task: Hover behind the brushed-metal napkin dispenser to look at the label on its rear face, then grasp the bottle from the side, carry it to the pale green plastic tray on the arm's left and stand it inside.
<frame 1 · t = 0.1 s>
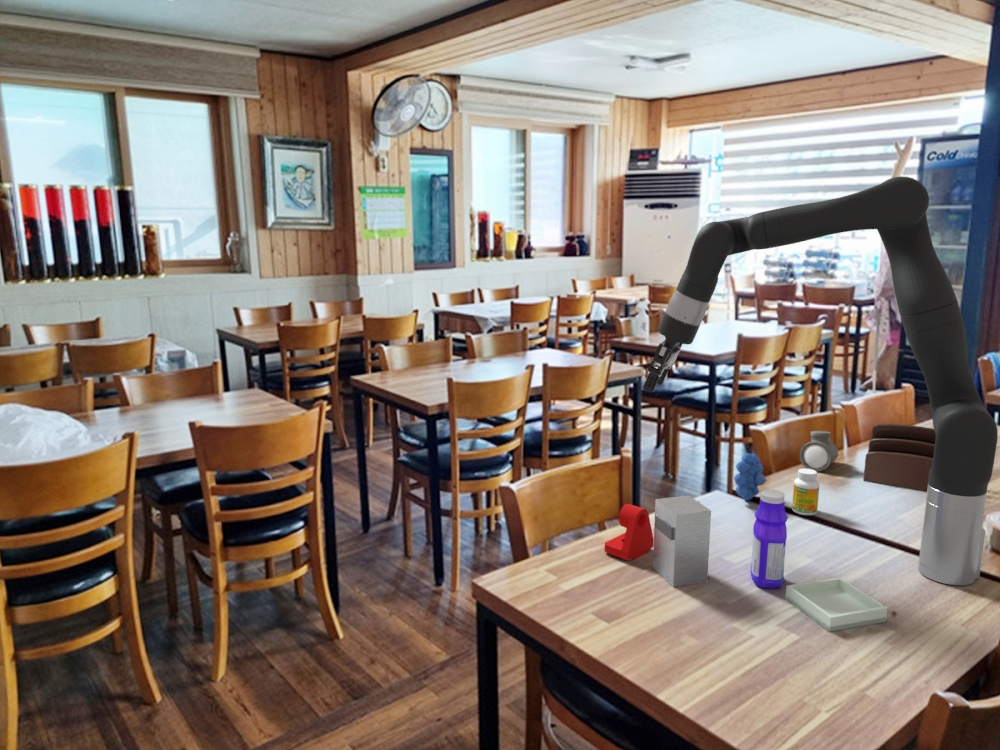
hand: (652, 386, 155), 31 cm above the table, fingers open, 8 cm apart
supplement bottle: (804, 512, 169), on the table
dispenser: (679, 574, 139), on the table
bracket: (627, 552, 149), on the table
letter holder: (908, 483, 188), on the table
tray: (834, 609, 126), on the table
pipe fitting: (820, 467, 201), on the table
grapes: (750, 501, 176), on the table
bottle: (766, 582, 136), on the table
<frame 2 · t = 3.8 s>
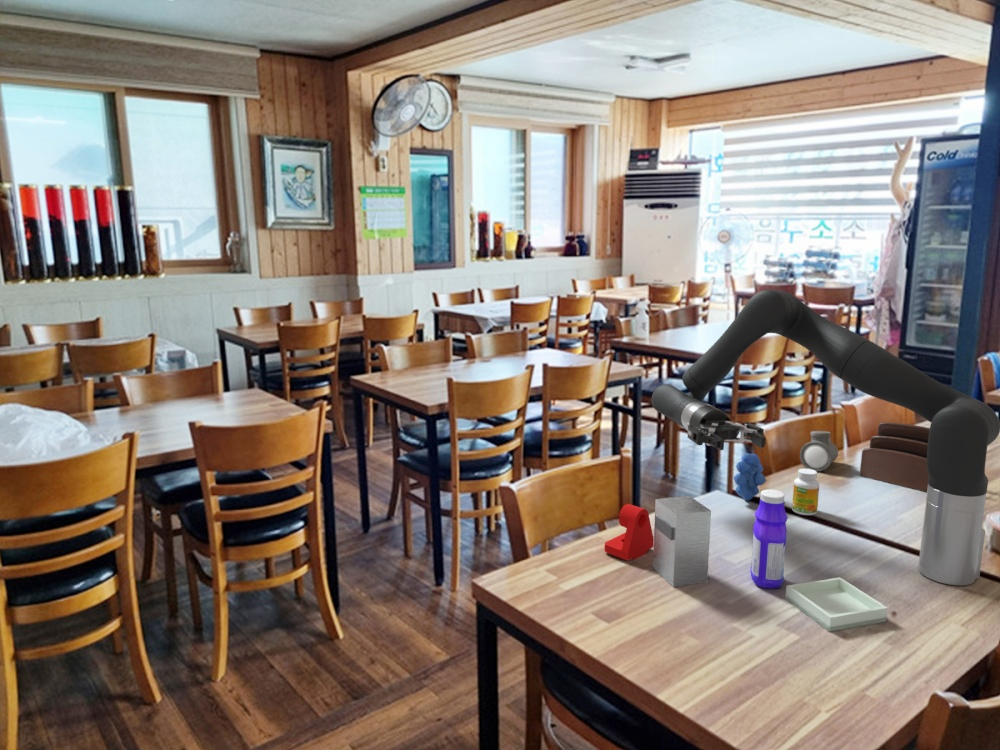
hand: (742, 444, 142), 23 cm above the table, fingers open, 8 cm apart
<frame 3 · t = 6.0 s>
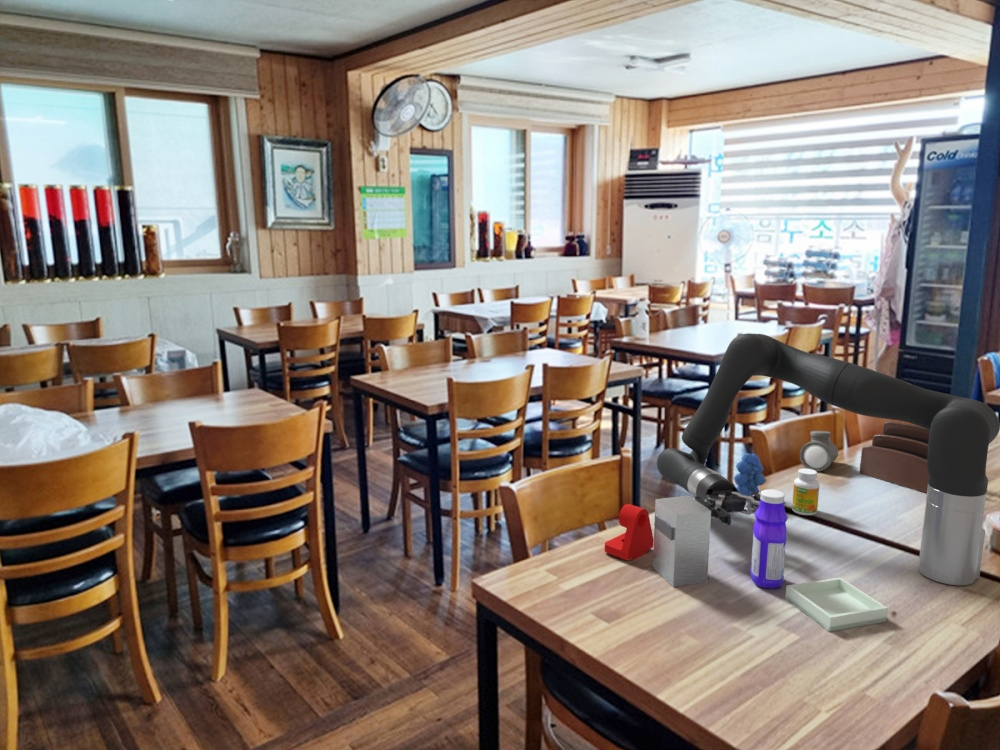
hand: (750, 519, 141), 9 cm above the table, fingers open, 8 cm apart
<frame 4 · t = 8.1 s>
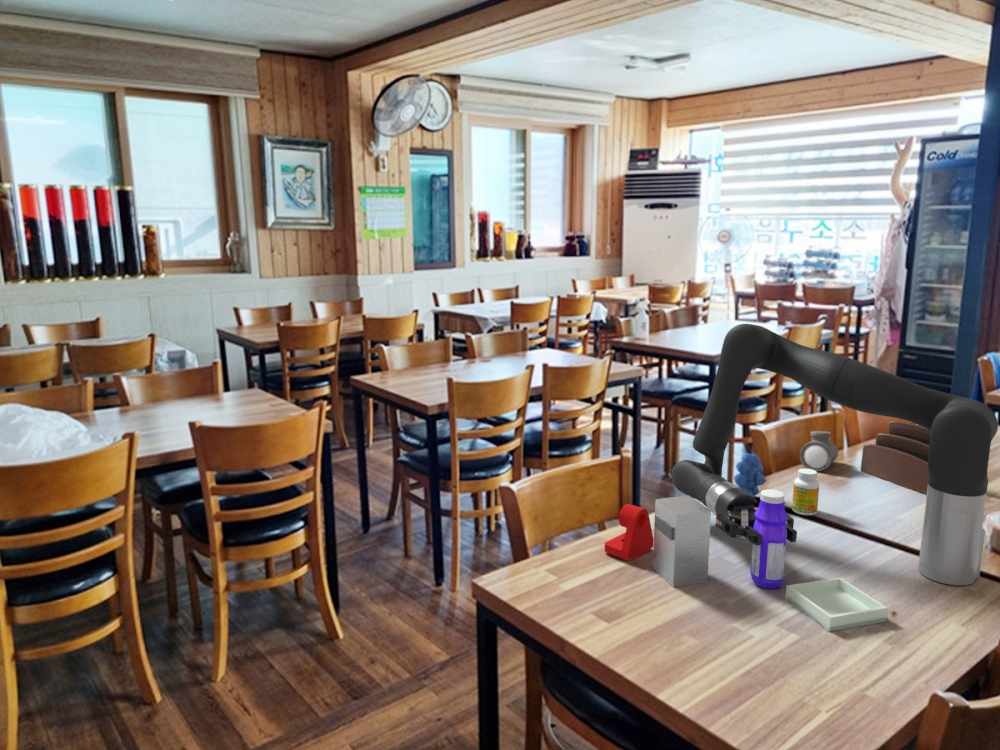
hand: (776, 538, 132), 10 cm above the table, fingers closed on bottle, 6 cm apart
bottle: (766, 582, 136), on the table, touching gripper
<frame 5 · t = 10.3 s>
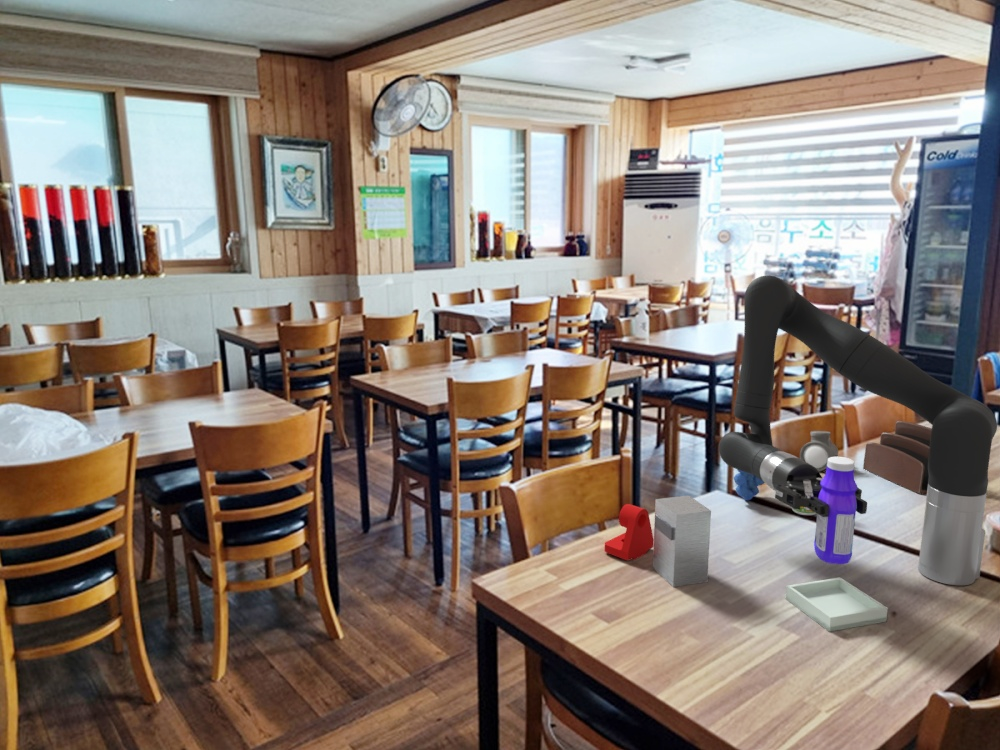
hand: (845, 509, 121), 19 cm above the table, fingers closed on bottle, 6 cm apart
bottle: (831, 558, 126), point 9 cm above the table, touching gripper
when the fingers open (11 cm above the table, at t = 12.4 s): bottle stays where it is, resting on tray.
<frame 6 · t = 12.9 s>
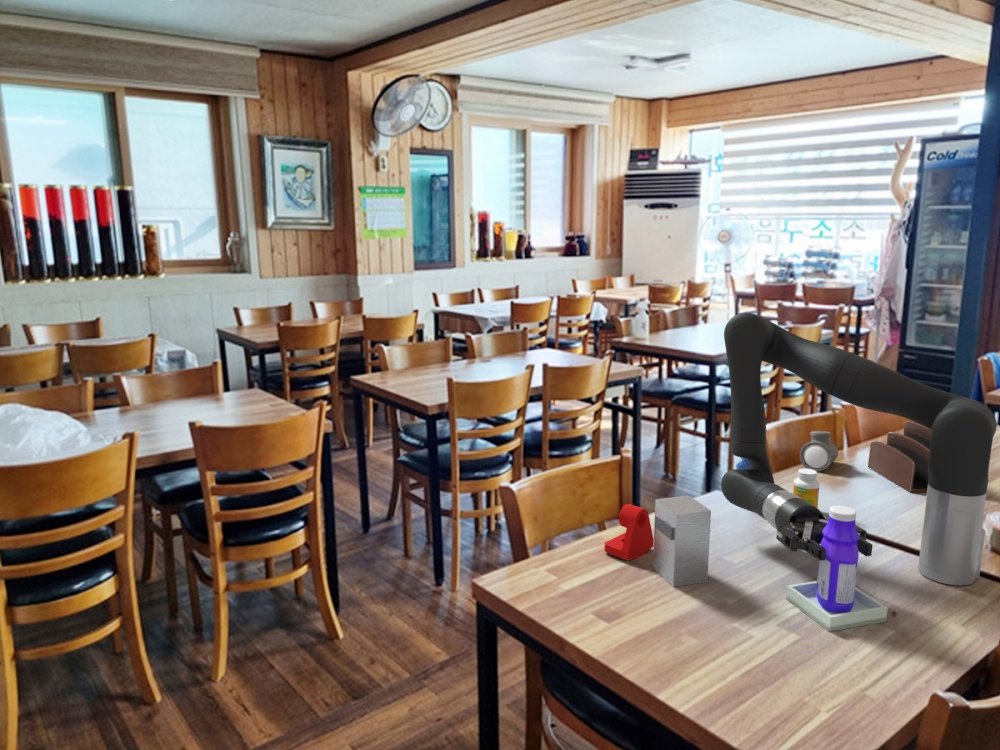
hand: (847, 553, 122), 11 cm above the table, fingers open, 8 cm apart
bottle: (834, 606, 126), point 1 cm above the table, touching tray
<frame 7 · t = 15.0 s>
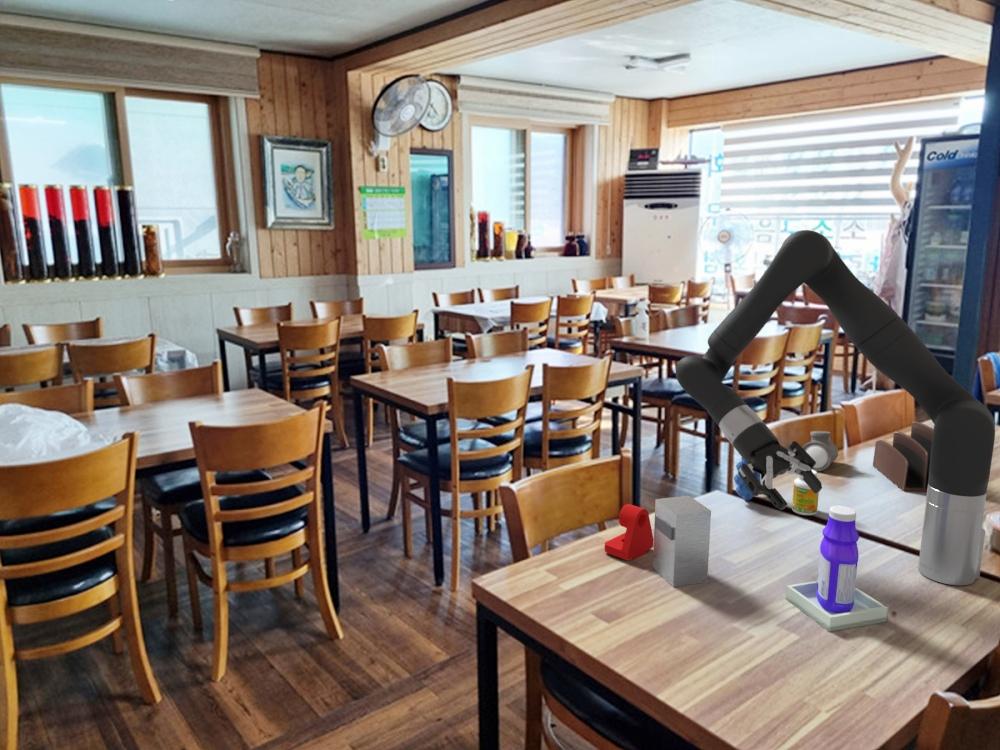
hand: (802, 499, 137), 15 cm above the table, fingers open, 8 cm apart
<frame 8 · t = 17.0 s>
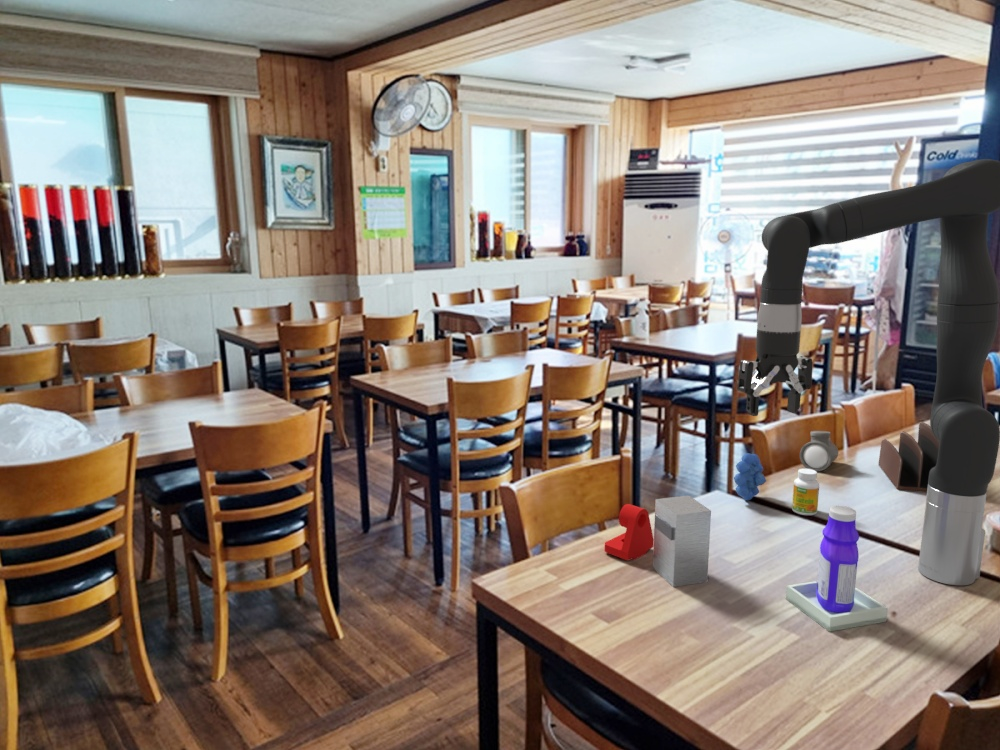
hand: (772, 413, 138), 30 cm above the table, fingers open, 8 cm apart
at the end: bottle inside the target area on the tray (0.2 cm from its centre), point 0.6 cm above the tray's base; bottle tilted 0°; the gripper is holding nothing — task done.
